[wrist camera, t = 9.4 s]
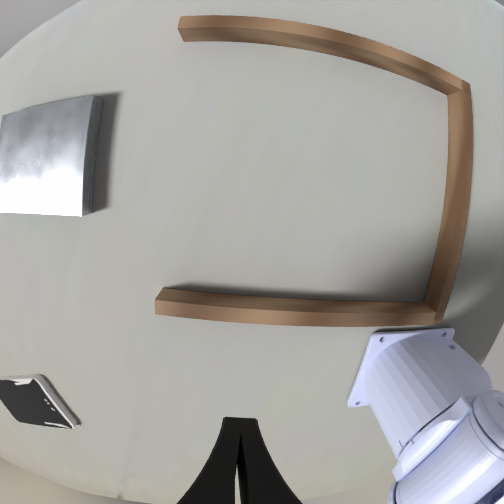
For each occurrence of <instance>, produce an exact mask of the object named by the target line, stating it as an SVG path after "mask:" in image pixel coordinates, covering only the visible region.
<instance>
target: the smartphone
mask: <svg viewBox="0 0 504 504" xmlns="http://www.w3.org/2000/svg"><path fill="white" fill-rule="evenodd" d="M0 399H1V401H2V402H3V403H4V405H5V406H6V407H7V409H8V410H9V411H10V413H11V414H12V415H13V416H14V418H15V419H16V420H18V421H19V422H22V423H28V424H35V425H42V426H49V427H58V428H69V429H73V428H74V427H75V425H76V424H77V421H76V419H75V418H74V417H73V416H72V415H71V413H70V412H69V411H68V410H67V408H66V407H65V406H64V405H63V403H62V402H61V401H60V399H59V398H58V397H57V395H56V394H55V393H54V391H53V390H52V389H51V387H50V386H49V384H48V383H47V382H46V380H45V379H44V378H43V377H42V376H41V375H39V374H31V375H20V376H8V377H0Z"/></svg>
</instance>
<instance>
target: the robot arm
mask: <svg viewBox="0 0 504 504" xmlns="http://www.w3.org/2000/svg"><path fill="white" fill-rule="evenodd" d="M454 333H455V330H454V329H453V328H441V329H429V330H414V331H396V332H376V333H374V334H372V335H371V337H370V340H369V343H368V346H367V349H366V352H365V355H364V358H363V361H362V364H361V367H360V370H359V372H358V375H357V378H356V381H355V383H354V386H353V389H352V391H351V394H350V396H349V399H348V401H347V404H348V407H358V406H367V405H370V406H371V408H372V410H373V412H374V414H375V416H376V418H377V420H378V422H379V424H380V426H381V428H382V430H383V432H384V434H385V436H386V438H387V441H388V443H389V445H390V447H391V449H392V451H393V453H394V455H395V457H396V459H397V461H398V464H397V465H396V466H395V467H394V468H393V469H392V472H393V474H394V476H395V479H396V481H395V482H394V483H393V485H392V486H391V488H390V490H389V493H388V504H504V393H503V392H501V391H498V390H492V384H491V380H490V378H489V375H488V373H487V372H486V371H485V369H484V368H483V367H482V366H481V365H480V364H479V363H477V362H476V361H475V360H474V359H473V358H472V357H471V356H470V355H469V354H468V353H467V352H466V351H465V350H464V349H463V348H461V347H460V346H459V345H458V344H457V343H456V342H455V341H454V340H453V336H454ZM382 337H383V338H382ZM380 338H382V339H381V340H380ZM236 468H238V479H239V489H240V499H241V504H302V503H301V502H300V500H299V499H298V498H297V497H296V496H295V494H294V493H293V492H292V490H291V489H290V488H289V486H288V485H287V484H286V482H285V481H284V479H283V478H282V476H281V474H280V473H279V471H278V469H277V468H276V466H275V464H274V462H273V460H272V458H271V456H270V454H269V452H268V450H267V448H266V446H265V443H264V441H263V438H262V435H261V432H260V429H259V426H258V421H257V420H256V419H255V418H235V417H225V418H223V422H222V427H221V430H220V433H219V436H218V439H217V441H216V444H215V446H214V448H213V450H212V452H211V455H210V457H209V458H208V460H207V462H206V464H205V466H204V467H203V469H202V471H201V472H200V474H199V475H198V477H197V478H196V480H195V481H194V483H193V484H192V486H191V487H190V488H189V490H188V491H187V492H186V493H185V495H184V496H183V497H182V498H181V499H180V500H179V502H178V503H177V504H235V475H236Z"/></svg>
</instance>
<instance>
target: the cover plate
mask: <svg viewBox="0 0 504 504" xmlns="http://www.w3.org/2000/svg"><path fill="white" fill-rule="evenodd" d="M102 105H103V99H101V98H99V97H97V96H95V95H90V96H83V97H77V98H72V99H66V100H61V101H56V102H51V103H47V104H43V105H38V106H34V107H30V108H27V109H23V110H19V111H16V112H13V113H9V114H6V115H3V117H2V122H1V129H0V212H12V213H36V214H56V215H74V216H83V215H87V214H91V213H93V187H94V170H95V158H96V148H97V139H98V131H99V124H100V117H101V111H102Z"/></svg>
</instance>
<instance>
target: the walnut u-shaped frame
mask: <svg viewBox="0 0 504 504" xmlns="http://www.w3.org/2000/svg"><path fill="white" fill-rule="evenodd" d="M178 30H179V32H180V35H181V37H182V39H183V41H184V42H186V41H232V42H249V43H261V44H271V45H279V46H287V47H293V48H300V49H306V50H311V51H316V52H321V53H326V54H331V55H335V56H339V57H343V58H347V59H351V60H355V61H359V62H362V63H366V64H369V65H372V66H375V67H379V68H382V69H385V70H388V71H391V72H393V73H396V74H399V75H402V76H404V77H407V78H410V79H412V80H415V81H417V82H420V83H422V84H424V85H427V86H429V87H431V88H433V89H436V90H438V91H440V92H442V93H444V94H446V95H448V115H449V145H448V167H447V180H446V191H445V200H444V207H443V215H442V221H441V227H440V233H439V239H438V244H437V249H436V254H435V259H434V263H433V267H432V272H431V276H430V280H429V284H428V287H427V291H426V295H425V298H424V302H370V301H336V300H312V299H292V298H275V297H260V296H246V295H233V294H221V293H209V292H198V291H188V290H178V289H169V288H163V289H162V290H161V292H160V293H159V294H158V296H157V297H156V299H155V314H159V315H167V316H175V317H184V318H193V319H203V320H213V321H225V322H238V323H252V324H269V325H290V326H326V327H369V326H404V325H424V324H439V323H441V322H442V319H443V316H444V313H445V310H446V307H447V304H448V301H449V298H450V294H451V291H452V287H453V284H454V280H455V276H456V272H457V268H458V264H459V259H460V255H461V250H462V245H463V240H464V235H465V229H466V223H467V216H468V209H469V201H470V192H471V180H472V164H473V116H472V100H471V89H470V84H469V83H467V82H465V81H464V80H462V79H460V78H458V77H456V76H455V75H453V74H451V73H449V72H447V71H445V70H443V69H441V68H439V67H437V66H435V65H433V64H431V63H429V62H427V61H425V60H422V59H420V58H418V57H415V56H413V55H411V54H408V53H406V52H403V51H401V50H398V49H396V48H393V47H390V46H388V45H385V44H382V43H379V42H376V41H373V40H370V39H367V38H364V37H360V36H357V35H353V34H350V33H346V32H342V31H338V30H334V29H330V28H325V27H321V26H316V25H311V24H305V23H299V22H293V21H286V20H279V19H270V18H260V17H247V16H220V15H210V16H183V17H180V20H179V24H178Z"/></svg>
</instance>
